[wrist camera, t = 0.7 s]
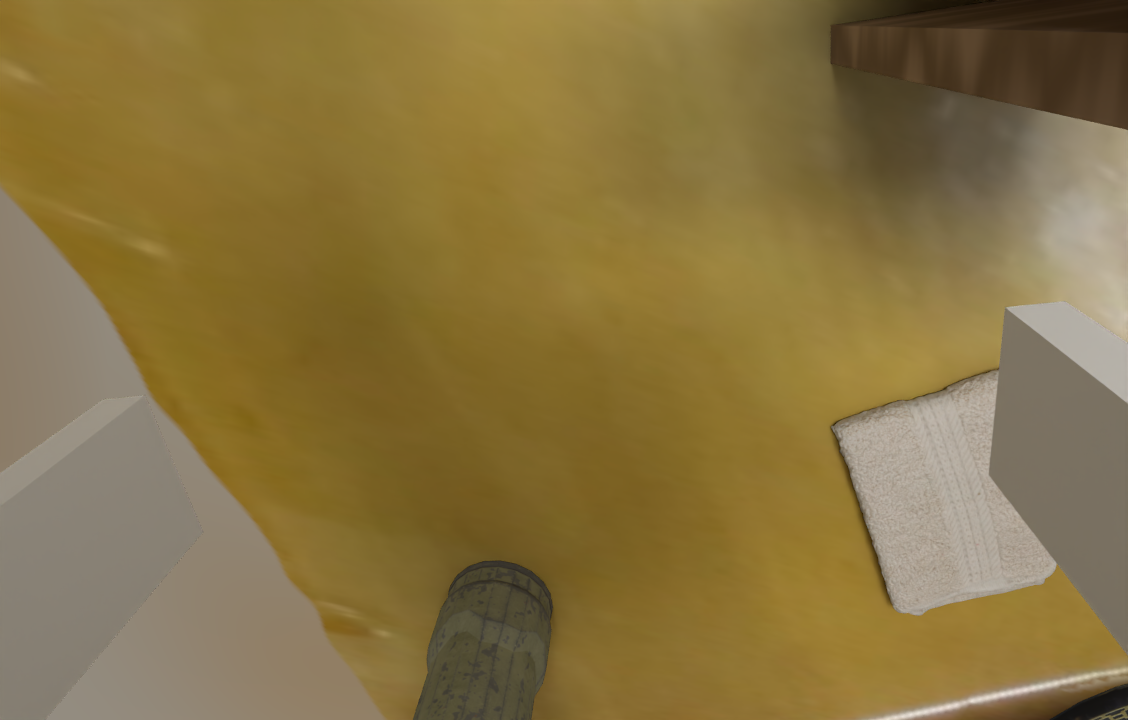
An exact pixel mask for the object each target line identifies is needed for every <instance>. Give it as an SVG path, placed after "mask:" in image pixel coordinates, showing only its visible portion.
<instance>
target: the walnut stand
mask: <svg viewBox="0 0 1128 720" xmlns="http://www.w3.org/2000/svg"><path fill="white" fill-rule="evenodd" d="M831 64H835V65H839V66H844V67H848V68H853V69H857V70H862V71H866V72H871V73H875V74H880V75H884V76H889V77H893V78H898V79H902V80H907V81H911V82H916V83H920V84H925V85H929V86H934V87H938V88H943V89H947V90H952V91H956V92H961V93H965V94H970V95H974V96H979V97H983V98H988V99H992V100H997V101H1001V102H1006V103H1010V104H1014V105H1019V106H1023V107H1028V108H1032V109H1037V110H1041V111H1046V112H1050V113H1055V114H1059V115H1064V116H1068V117H1073V118H1077V119H1082V120H1086V121H1091V122H1095V123H1100V124H1104V125H1109V126H1113V127H1118V128H1122V129H1127V130H1128V0H998V1H991V2H985V3H978V4H971V5H964V6H958V7H951V8H944V9H938V10H931V11H924V12H917V13H911V14H904V15H897V16H890V17H884V18H877V19H870V20H864V21H857V22H850V23H843V24H837V25H831Z"/></svg>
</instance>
